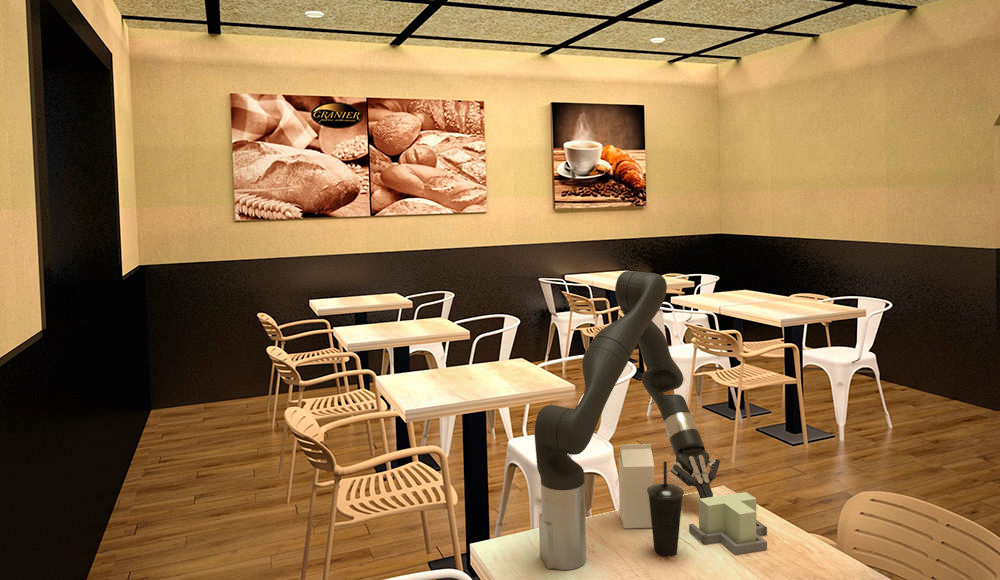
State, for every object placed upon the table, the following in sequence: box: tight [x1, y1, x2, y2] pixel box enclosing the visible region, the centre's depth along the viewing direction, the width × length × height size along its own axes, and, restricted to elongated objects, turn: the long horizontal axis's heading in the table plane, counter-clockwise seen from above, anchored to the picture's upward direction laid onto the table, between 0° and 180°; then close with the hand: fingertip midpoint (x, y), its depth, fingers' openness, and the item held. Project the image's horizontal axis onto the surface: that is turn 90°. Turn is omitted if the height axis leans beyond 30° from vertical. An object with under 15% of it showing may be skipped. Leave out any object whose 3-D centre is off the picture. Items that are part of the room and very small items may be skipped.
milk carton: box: [618, 443, 655, 529], centre depth 167 cm, size 7×7×19 cm
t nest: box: [688, 519, 768, 556], centre depth 158 cm, size 16×13×2 cm
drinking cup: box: [647, 461, 684, 558], centre depth 153 cm, size 8×8×20 cm
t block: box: [698, 491, 757, 544], centre depth 158 cm, size 12×10×8 cm
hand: (708, 500), depth 169 cm, fingers closed
